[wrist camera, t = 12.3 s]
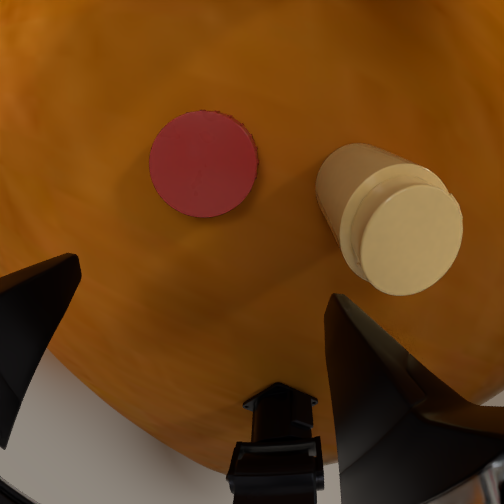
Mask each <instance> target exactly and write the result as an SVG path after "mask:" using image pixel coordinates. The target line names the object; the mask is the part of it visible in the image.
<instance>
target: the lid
mask: <svg viewBox="0 0 504 504" xmlns="http://www.w3.org/2000/svg"><path fill="white" fill-rule="evenodd" d="M243 125H244V124H243V123H242V124H241V123H240V122H239V121H237V120H236V119H234V118H233V117H232V115H230V116H229V115H226V114H223V113H220V111H206V110H200V111H196V112H187V113H186V114H184V115H181V116H179V117H177V118H175V119H173V120H172V121H171V122H169V123H168V124H167V125H166V126H165V127H164V128H163V129H162V130H161V131H160V133H159V134H158V135H157V137H156V139H155V141H154V143H153V146H152V148H151V152H150V159H149V169H150V175H151V179H152V182H153V184H154V187H155V189H156V190H157V192H158V194H159V195H160V196H161V198H162V199H163V200H164V201H165V202H166V203H167V204H168V205H170V206H171V207H172V208H174V209H175V210H177V211H179V212H181V213H183V214H186V215H189V216H194V217H203V218H204V217H214V216H218V215H221V214H224V213H226V212H228V211H230V210H232V209H233V208H235V207H236V206H237V205H239V204H240V203H241V202H242V201H243V200H244V199H245V197H246V196H247V195H248V193H249V192H250V191H251V188H252V186H253V183H254V180H255V179H256V178H257V173H256V171H257V165H258V164H259V160H258V156H257V146H255V143H254V140H253V138H252V134H250V133H249V132H248V130H247V129H246V128H245V127H244V126H243Z"/></svg>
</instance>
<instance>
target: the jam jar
mask: <svg viewBox="0 0 504 504" xmlns="http://www.w3.org/2000/svg"><path fill="white" fill-rule="evenodd" d="M316 198H317V202H318V204H319V207H320V209H321V211H322V213H323V215H324V217H325V219H326V221H327V223H328V225H329V227H330V229H331V231H332V233H333V235H334V238H335V240H336V242H337V244H338V246H339V248H340V250H341V252H342V255H343V257H344V259H345V261H346V263H347V264H348V266H349V267H350V268H351V270H352V271H353V272H354V273H355V274H356V275H358V276H359V277H360V278H362V279H364V280H366V281H368V282H370V283H371V284H372V285H373V286H374V287H375V288H376V289H378V290H380V291H382V292H384V293H386V294H389V295H395V296H405V295H411V294H415V293H418V292H420V291H423V290H425V289H427V288H428V287H430V286H432V285H433V284H434V283H436V282H437V281H438V280H439V279H440V278H441V277H442V276H443V275H444V274H445V273H446V272H447V271H448V269H449V268H450V267H451V265H452V263H453V262H454V260H455V258H456V256H457V254H458V251H459V248H460V245H461V240H462V232H463V226H462V219H463V217H462V214H461V211H460V208H459V204H458V203H457V201H456V200H455V198H454V197H453V195H452V194H451V193H450V194H449V193H448V191H447V189H446V187H445V185H444V184H443V182H442V181H441V180H440V179H439V177H437V176H436V175H435V174H434V173H433V172H431V171H430V170H428V169H426V168H424V167H422V166H420V165H418V164H416V163H413V162H411V161H409V160H407V159H404V158H402V157H400V156H397V155H395V154H393V153H390V152H388V151H385V150H383V149H380V148H378V147H375V146H373V145H370V144H365V143H354V144H349V145H346V146H343V147H341V148H339V149H337V150H336V151H334V152H333V153H332V154H331V155H330V156H329V157H327V159H326V160H325V161H324V163H323V164H322V166H321V168H320V170H319V172H318V175H317V179H316Z"/></svg>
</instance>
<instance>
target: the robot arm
mask: <svg viewBox="0 0 504 504" xmlns="http://www.w3.org/2000/svg"><path fill="white" fill-rule="evenodd" d="M81 276H82V274H81V268H80V263H79V258H78V256H77V255H76V254H72V253H66V254H63V255H60V256H57V257H54V258H51V259H48V260H46V261H43V262H40V263H37V264H35V265H32V266H29V267H27V268H24V269H21V270H19V271H16V272H13V273H11V274H8V275H6V276H3V277H1V278H0V447H1V448H2V449H4V450H5V449H6V447H7V443H8V440H9V437H10V434H11V431H12V428H13V425H14V422H15V420H16V417H17V414H18V411H19V409H20V406H21V403H22V401H23V398H24V396H25V393H26V391H27V388H28V386H29V384H30V382H31V379H32V377H33V375H34V373H35V370H36V368H37V366H38V364H39V362H40V360H41V357H42V356H43V354H44V352H45V350H46V348H47V346H48V344H49V342H50V340H51V338H52V336H53V334H54V332H55V330H56V329H57V327H58V325H59V323H60V321H61V319H62V318H63V316H64V314H65V312H66V310H67V308H68V306H69V304H70V302H71V299H72V297H73V295H74V293H75V291H76V289H77V287H78V285H79V283H80V281H81ZM324 330H325V356H326V365H327V371H328V378H329V385H330V392H331V400H332V407H333V416H334V424H335V433H336V442H337V452H338V462H339V472H340V474H339V475H340V489H341V502H342V503H341V504H504V407H496V406H494V407H493V406H480V405H476V404H473V403H471V402H469V401H467V400H465V399H464V398H463V397H462V396H460V395H459V394H458V393H457V392H455V391H454V390H453V389H451V388H450V387H449V386H448V385H446V384H445V383H444V382H443V381H441V380H440V379H439V378H438V377H436V376H435V375H434V374H433V373H432V372H430V371H429V370H428V369H427V368H426V367H425V366H423V365H422V364H421V363H420V362H419V361H418V360H417V359H416V358H415V357H413V356H412V355H411V354H409V352H408V351H407V350H406V349H405V348H404V347H403V346H401V345H400V344H399V343H398V342H397V341H396V340H395V339H394V338H393V337H392V336H390V335H389V334H388V333H387V332H386V331H385V330H384V329H383V328H382V327H380V326H379V325H378V324H377V323H376V322H375V321H374V320H373V319H371V318H370V317H369V316H368V315H367V314H366V313H365V312H364V311H362V310H361V309H360V308H359V307H358V306H357V305H356V304H354V303H353V302H352V301H351V300H350V299H349V298H348V297H346V296H345V295H344V294H336V293H333V294H332V295H331V297H330V300H329V302H328V305H327V308H326V311H325V314H324ZM317 403H318V399H317V398H314V397H312V396H310V395H307V394H305V393H303V392H300V391H298V390H296V389H293V388H291V387H289V386H287V385H285V384H282V383H279V382H278V383H274V384H273V385H271V386H270V387H268V388H267V389H265V390H264V391H262V392H260V393H259V394H257V395H255V396H254V397H252V398H251V399H249V400H247V401H246V402H244V403H243V408H245V409H247V410H250V411H252V412H253V418H252V434H251V442H237V443H236V447H235V448H234V451H233V455H232V459H231V463H230V467H229V471H228V473H227V475H226V481H228V482H229V485H230V490H231V492H232V493H233V494H234V500H233V504H317V493H316V491H319V490H324V471H323V460H322V450H321V440H320V436H316V437H314V438H312V433H311V428H313V415H312V406H314V405H316V404H317ZM314 456H316V457H314ZM0 504H40V503H38V502H36V501H35V500H33V499H32V498H30V497H29V496H27V495H26V494H24V493H23V492H21V491H19V490H18V489H17V488H15V487H14V486H13V485H11V484H9V482H7V481H6V480H5V479H3V478H2V477H1V476H0Z"/></svg>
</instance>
